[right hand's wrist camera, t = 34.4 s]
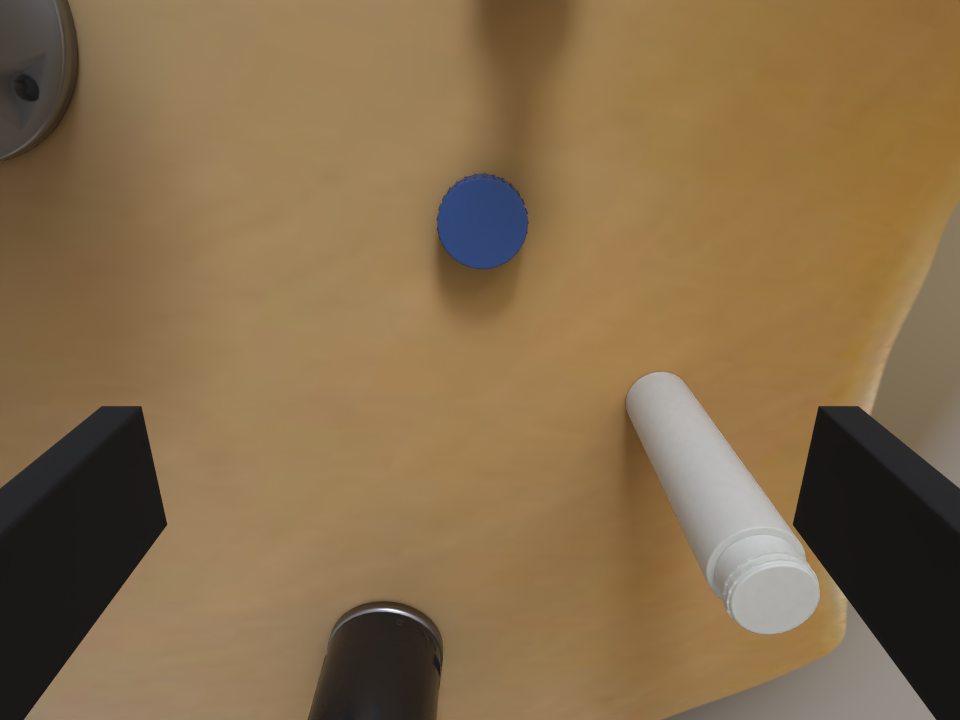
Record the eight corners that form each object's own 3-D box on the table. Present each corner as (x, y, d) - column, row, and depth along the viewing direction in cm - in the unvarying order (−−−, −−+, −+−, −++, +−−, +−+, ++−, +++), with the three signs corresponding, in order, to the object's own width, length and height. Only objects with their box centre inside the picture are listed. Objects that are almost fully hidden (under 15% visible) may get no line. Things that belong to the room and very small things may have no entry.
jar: (675, 361, 45) (811, 542, 26) (698, 412, 46) (842, 618, 28) (615, 388, 45) (706, 583, 27) (640, 438, 47) (742, 655, 29)
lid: (435, 257, 42) (433, 265, 40) (442, 168, 40) (439, 172, 38) (520, 265, 42) (522, 274, 40) (531, 177, 40) (534, 182, 38)
